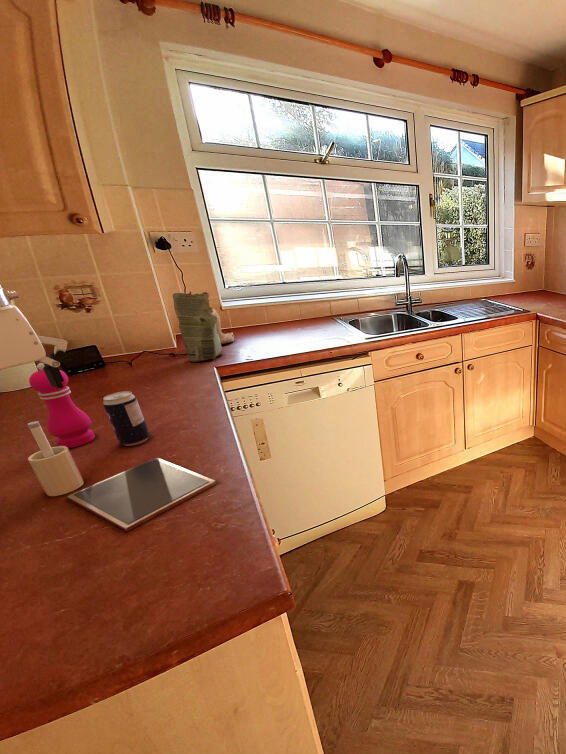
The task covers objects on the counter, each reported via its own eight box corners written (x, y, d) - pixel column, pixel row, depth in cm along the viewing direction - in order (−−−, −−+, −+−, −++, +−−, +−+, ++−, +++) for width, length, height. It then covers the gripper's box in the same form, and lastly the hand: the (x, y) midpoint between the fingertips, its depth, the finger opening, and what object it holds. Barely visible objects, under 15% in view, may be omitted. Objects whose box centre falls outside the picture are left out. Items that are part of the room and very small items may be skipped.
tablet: (126, 532, 72) (124, 527, 71) (68, 499, 80) (66, 495, 80) (216, 483, 84) (215, 480, 84) (158, 460, 93) (156, 456, 92)
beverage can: (143, 433, 104) (126, 389, 100) (156, 438, 102) (138, 392, 97) (115, 444, 99) (95, 398, 95) (128, 449, 97) (108, 402, 92)
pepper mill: (52, 444, 100) (14, 364, 93) (93, 431, 106) (59, 355, 98) (60, 452, 96) (20, 370, 89) (101, 439, 102) (67, 361, 94)
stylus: (61, 488, 82) (29, 425, 77) (58, 486, 83) (25, 423, 78) (71, 484, 84) (39, 422, 78) (67, 483, 84) (36, 420, 79)
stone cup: (197, 352, 166) (185, 314, 161) (192, 346, 175) (180, 310, 169) (240, 344, 176) (230, 308, 170) (233, 338, 184) (224, 304, 178)
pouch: (188, 357, 160) (166, 291, 150) (225, 351, 167) (206, 287, 157) (190, 365, 152) (167, 295, 142) (228, 358, 159) (209, 291, 149)
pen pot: (53, 499, 80) (35, 463, 77) (41, 492, 82) (22, 456, 79) (89, 483, 85) (72, 449, 82) (76, 477, 87) (60, 443, 84)
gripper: (35, 292, 79) (74, 377, 85) (-120, 312, 64) (-59, 413, 71) (53, 294, 75) (92, 382, 82) (-105, 316, 61) (-43, 421, 68)
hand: (22, 396), depth 76 cm, fingers open, 9 cm apart
